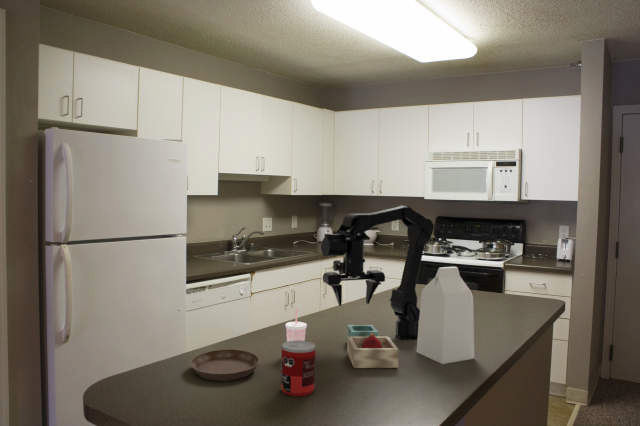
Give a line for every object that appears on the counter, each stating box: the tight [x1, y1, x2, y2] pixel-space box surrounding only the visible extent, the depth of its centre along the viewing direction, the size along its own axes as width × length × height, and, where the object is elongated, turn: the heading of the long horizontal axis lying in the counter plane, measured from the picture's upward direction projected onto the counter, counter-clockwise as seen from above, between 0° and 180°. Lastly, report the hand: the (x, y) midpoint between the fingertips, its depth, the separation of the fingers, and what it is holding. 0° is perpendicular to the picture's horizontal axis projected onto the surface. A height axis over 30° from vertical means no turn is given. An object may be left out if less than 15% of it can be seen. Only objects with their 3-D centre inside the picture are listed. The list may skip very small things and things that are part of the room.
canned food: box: [280, 340, 317, 397], centre depth 123 cm, size 8×8×11 cm
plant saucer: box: [190, 349, 260, 382], centre depth 135 cm, size 18×18×3 cm
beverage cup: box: [284, 306, 308, 342], centre depth 149 cm, size 6×6×14 cm
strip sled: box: [346, 324, 400, 369], centre depth 152 cm, size 12×25×5 cm, turn 6°
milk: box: [415, 266, 475, 365], centre depth 152 cm, size 12×12×26 cm
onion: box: [362, 333, 382, 348], centre depth 145 cm, size 6×6×8 cm
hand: (353, 304), depth 161 cm, fingers open, 9 cm apart
